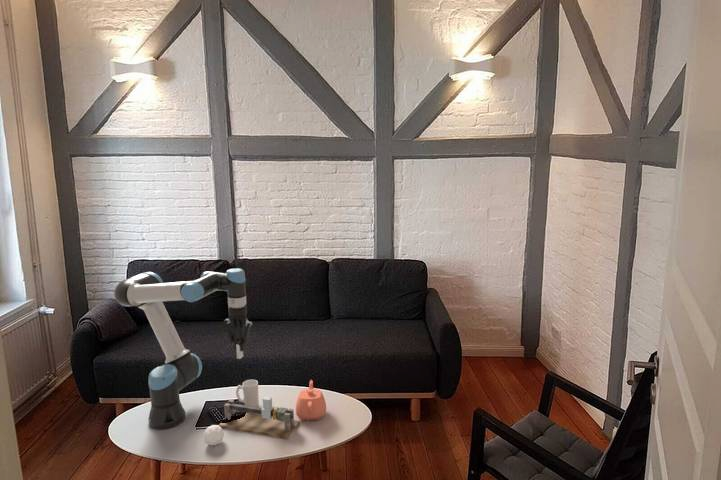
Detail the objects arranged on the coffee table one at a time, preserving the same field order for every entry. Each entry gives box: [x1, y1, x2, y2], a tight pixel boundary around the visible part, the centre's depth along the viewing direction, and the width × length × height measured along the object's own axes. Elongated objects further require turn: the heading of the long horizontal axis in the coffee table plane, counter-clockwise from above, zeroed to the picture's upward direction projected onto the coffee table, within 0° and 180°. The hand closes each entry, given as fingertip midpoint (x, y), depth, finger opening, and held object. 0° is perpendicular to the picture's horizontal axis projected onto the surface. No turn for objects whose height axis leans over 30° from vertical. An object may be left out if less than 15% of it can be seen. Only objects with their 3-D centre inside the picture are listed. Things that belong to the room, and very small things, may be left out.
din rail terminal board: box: [218, 399, 301, 440], centre depth 224 cm, size 32×12×9 cm, turn 73°
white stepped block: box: [261, 396, 275, 419], centre depth 222 cm, size 4×4×8 cm
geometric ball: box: [203, 424, 225, 446], centre depth 212 cm, size 8×8×8 cm
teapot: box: [295, 379, 327, 422], centre depth 232 cm, size 13×20×12 cm
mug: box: [235, 379, 260, 408], centre depth 238 cm, size 10×7×12 cm, turn 88°
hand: (240, 357), depth 227 cm, fingers closed
